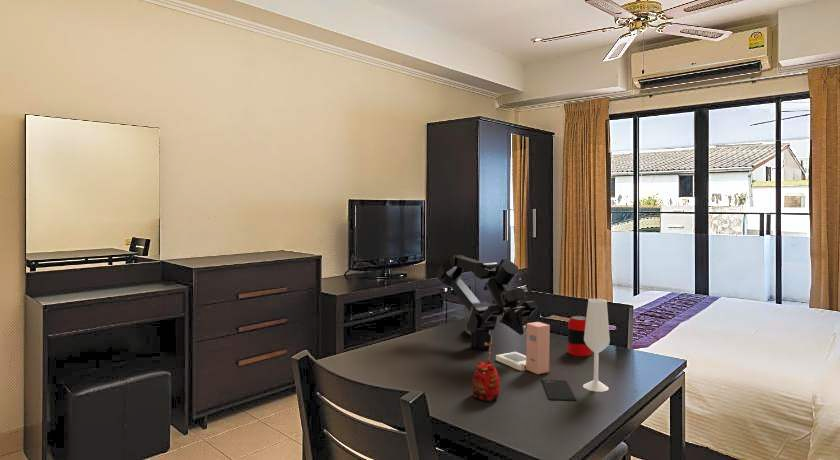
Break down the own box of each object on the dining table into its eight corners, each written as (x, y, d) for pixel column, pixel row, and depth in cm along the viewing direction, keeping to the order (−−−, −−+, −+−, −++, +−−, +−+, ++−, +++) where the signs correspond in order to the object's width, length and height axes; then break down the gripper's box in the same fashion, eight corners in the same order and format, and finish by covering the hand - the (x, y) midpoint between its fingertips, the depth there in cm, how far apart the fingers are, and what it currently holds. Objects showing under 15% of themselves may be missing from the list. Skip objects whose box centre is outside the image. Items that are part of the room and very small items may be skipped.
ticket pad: (495, 360, 165) (495, 354, 165) (515, 356, 169) (515, 351, 169) (520, 370, 154) (520, 365, 154) (541, 366, 158) (541, 361, 158)
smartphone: (578, 402, 131) (566, 382, 146) (578, 399, 131) (566, 379, 146) (548, 402, 131) (539, 381, 146) (548, 398, 131) (539, 378, 146)
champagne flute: (592, 392, 137) (594, 303, 135) (577, 384, 143) (579, 298, 142) (614, 390, 139) (616, 302, 137) (598, 381, 145) (600, 297, 144)
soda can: (586, 358, 167) (587, 321, 167) (564, 354, 172) (564, 318, 171) (594, 352, 173) (595, 317, 173) (572, 348, 178) (573, 314, 177)
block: (525, 369, 155) (526, 323, 154) (537, 367, 157) (538, 321, 156) (537, 374, 150) (538, 326, 150) (549, 371, 153) (549, 325, 152)
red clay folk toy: (466, 396, 134) (466, 339, 133) (483, 389, 139) (483, 334, 138) (489, 405, 128) (490, 345, 128) (506, 397, 133) (506, 340, 133)
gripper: (487, 280, 159) (510, 323, 150) (534, 276, 168) (558, 316, 159) (473, 301, 166) (493, 343, 157) (518, 296, 175) (540, 335, 166)
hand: (522, 334), depth 160 cm, fingers closed
